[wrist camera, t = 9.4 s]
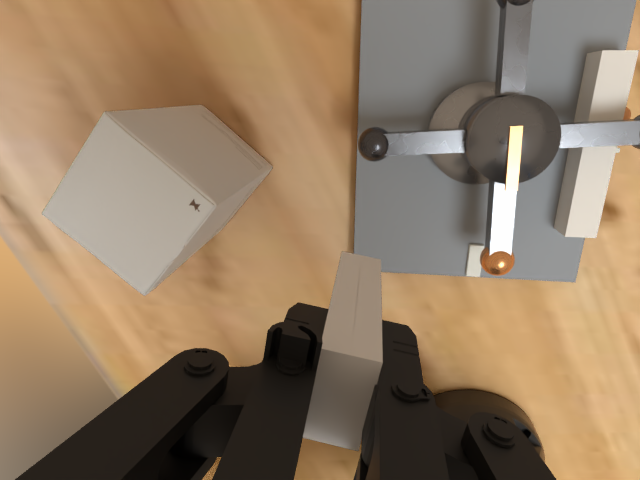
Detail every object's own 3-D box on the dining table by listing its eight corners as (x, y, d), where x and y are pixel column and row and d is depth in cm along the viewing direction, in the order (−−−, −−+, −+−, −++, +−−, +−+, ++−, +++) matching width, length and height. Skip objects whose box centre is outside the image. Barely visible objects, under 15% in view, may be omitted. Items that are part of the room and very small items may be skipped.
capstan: (661, -33, 30) (733, -64, 24) (614, 254, 37) (660, 286, 31) (355, -3, 33) (350, -24, 27) (363, 257, 40) (360, 286, 34)
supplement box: (201, 100, 39) (102, 104, 25) (275, 166, 40) (221, 206, 26) (149, 173, 42) (34, 213, 28) (219, 233, 43) (143, 300, 29)
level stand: (575, 275, 40) (595, 294, 36) (354, 264, 42) (351, 280, 39) (638, -18, 32) (671, -32, 28) (362, -11, 35) (361, -24, 31)
